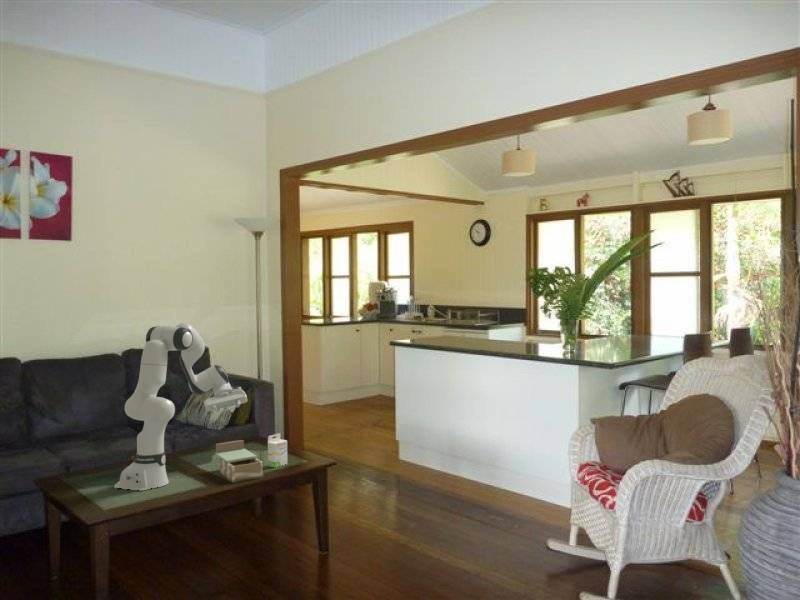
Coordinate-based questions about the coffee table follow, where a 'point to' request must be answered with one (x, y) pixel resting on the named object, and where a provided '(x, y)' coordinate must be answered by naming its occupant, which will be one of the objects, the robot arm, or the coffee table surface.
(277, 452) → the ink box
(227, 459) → the lid
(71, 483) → the coffee table surface
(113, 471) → the coffee table surface
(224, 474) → the box
